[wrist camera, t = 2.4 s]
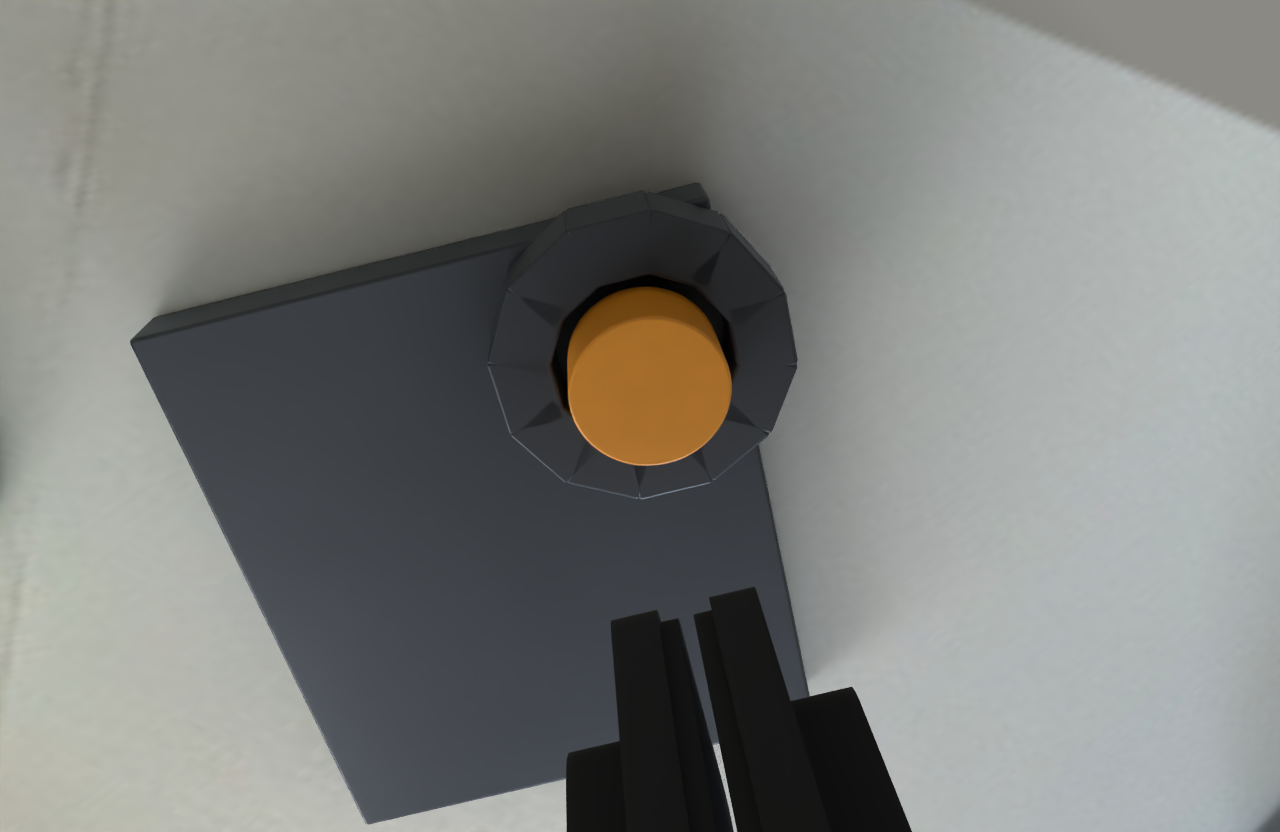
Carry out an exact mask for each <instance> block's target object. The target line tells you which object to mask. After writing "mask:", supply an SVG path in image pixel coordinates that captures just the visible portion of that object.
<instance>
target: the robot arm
mask: <svg viewBox="0 0 1280 832" xmlns="http://www.w3.org/2000/svg"><path fill="white" fill-rule="evenodd" d="M709 601H710V605H711V610H709V611H705V612H701V613H697V614H693V616H694V621H695V626H696V631H697V636H698V641H699V645H700V650H701V655H702V660H703V665H704V670H705V675H706V680H707V685H708V690H709V695H710V699H711V704H712V709H713V714H714V719H715V724H716V729H717V734H718V739H719V744H720V749H721V753H722V758H723V763H724V768H725V773H726V778H727V783H728V788H729V793H730V798H731V803H732V808H733V812H734V817H735V822H736V827H737V832H912V831H911V828H910V826H909V823H908V821H907V818H906V816H905V813H904V811H903V808H902V806H901V803H900V801H899V798H898V796H897V793H896V791H895V788H894V786H893V783H892V781H891V778H890V776H889V773H888V771H887V768H886V766H885V763H884V761H883V758H882V756H881V753H880V751H879V748H878V746H877V743H876V741H875V738H874V736H873V733H872V731H871V728H870V726H869V723H868V721H867V718H866V716H865V713H864V711H863V708H862V706H861V703H860V701H859V699H858V696H857V694H856V692H855V690H854V689H853V688H852V687H849V688H844V689H840V690H836V691H832V692H827V693H823V694H819V695H814V696H810V697H806V698H801V699H797V700H793V701H790V698H789V694H788V691H787V688H786V685H785V681H784V678H783V675H782V672H781V668H780V665H779V662H778V659H777V655H776V652H775V649H774V646H773V643H772V639H771V636H770V633H769V630H768V626H767V623H766V620H765V617H764V613H763V610H762V607H761V604H760V600H759V597H758V594H757V591H756V588H755V586H754V587H750V588H746V589H742V590H738V591H733V592H729V593H725V594H721V595H716V596H712V597H709ZM611 638H612V650H613V663H614V676H615V688H616V701H617V714H618V726H619V739H620V741H617V742H613V743H608V744H604V745H600V746H596V747H591V748H587V749H583V750H578V751H574V752H570V753H568V756H567V762H566V808H567V832H734V831H733V826H732V821H731V816H730V812H729V807H728V803H727V799H726V794H725V790H724V787H723V783H722V779H721V775H720V771H719V768H718V764H717V760H716V756H715V752H714V749H713V745H712V741H711V737H710V734H709V730H708V726H707V722H706V718H705V715H704V711H703V707H702V703H701V700H700V696H699V692H698V688H697V684H696V681H695V677H694V673H693V669H692V666H691V662H690V658H689V654H688V650H687V647H686V643H685V639H684V635H683V632H682V628H681V624H680V621H679V618H676V619H671V620H667V621H663V622H661V618H660V615H659V612H658V610H653V611H649V612H645V613H640V614H636V615H632V616H628V617H624V618H619V619H615V620H611Z"/></svg>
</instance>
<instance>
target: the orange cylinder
mask: <svg viewBox="0 0 1280 832" xmlns="http://www.w3.org/2000/svg"><path fill="white" fill-rule="evenodd" d="M567 372H568V400H569V406H570V411H571V414H572V417H573V420H574V422H575V424H576V426H577V428H578V429H579V431H580V432H581V434H582V435H583V436H584V438H585V439H586V440H587V441H588V442H589V443H590V444H591V445H592V446H593V447H595V448H596V449H597V450H599V451H600V452H602V453H603V454H605V455H607V456H608V457H611V458H613V459H615V460H618V461H621V462H624V463H628V464H633V465H643V466H651V465H661V464H667V463H670V462H674V461H677V460H680V459H682V458H684V457H687V456H688V455H690V454H692V453H694V452H695V451H697V450H698V449H699V448H701V447H702V446H703V445H705V444H706V443H707V442H708V441H709V440H710V439H711V438H712V437H713V435H714V434H715V433H716V432H717V430H718V429H719V427H720V426H721V424H722V423H723V421H724V419H725V416H726V414H727V412H728V408H729V405H730V401H731V394H732V381H731V374H730V370H729V367H728V364H727V361H726V359H725V356H724V353H723V351H722V348H721V346H720V343H719V341H718V338H717V336H716V333H715V331H714V329H713V326H712V324H711V323H710V321H709V319H708V318H707V316H706V315H705V314H704V313H703V311H702V310H701V309H700V308H699V307H698V306H697V305H695V304H694V303H693V302H692V301H690V300H689V299H687V298H686V297H684V296H682V295H680V294H678V293H676V292H673V291H670V290H667V289H663V288H658V287H647V286H646V287H634V288H628V289H624V290H621V291H618V292H615V293H613V294H611V295H608V296H606V297H605V298H603V299H602V300H600V301H598V302H597V303H596V304H595V305H593V306H592V307H591V308H590V309H589V310H588V311H587V312H586V313H585V314H584V315H583V317H582V318H581V319H580V321H579V322H578V324H577V325H576V327H575V329H574V331H573V334H572V336H571V339H570V342H569V347H568V355H567Z"/></svg>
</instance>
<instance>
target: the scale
mask: <svg viewBox="0 0 1280 832" xmlns="http://www.w3.org/2000/svg"><path fill="white" fill-rule="evenodd" d="M646 286H647V287H658V288H663V289H667V290H670V291H673V292H676V293H678V294H680V295H682V296H684V297H686V298H687V299H689V300H690V301H692V302H693V303H694V304H695V305H697V306H698V307H699V308H700V309H701V310H702V311H703V313H704V314H705V315H706V316H707V318H708V319H709V321H710V323H711V324H712V326H713V329H714V331H715V333H716V336H717V338H718V341H719V343H720V346H721V348H722V351H723V353H724V356H725V359H726V361H727V364H728V367H729V370H730V374H731V381H732V394H731V401H730V405H729V408H728V412H727V414H726V416H725V419H724V421H723V423H722V424H721V426H720V427H719V429H718V430H717V432H716V433H715V434H714V435H713V437H712V438H711V439H710V440H709V441H708V442H707V443H706V444H705V445H703V446H702V447H701V448H699V449H698V450H697V451H695V452H694V453H692V454H690V455H688V456H687V457H684V458H682V459H680V460H677V461H674V462H670V463H667V464H661V465H651V466H643V465H633V464H628V463H624V462H621V461H618V460H615V459H613V458H611V457H608V456H607V455H605V454H603V453H602V452H600V451H599V450H597V449H596V448H595V447H593V446H592V445H591V444H590V443H589V442H588V441H587V440H586V439H585V438H584V436H583V435H582V434H581V432H580V431H579V429H578V428H577V426H576V424H575V422H574V420H573V417H572V414H571V411H570V406H569V400H568V372H567V355H568V347H569V342H570V339H571V336H572V334H573V331H574V329H575V327H576V325H577V324H578V322H579V321H580V319H581V318H582V317H583V315H584V314H585V313H586V312H587V311H588V310H589V309H590V308H591V307H592V306H593V305H595V304H596V303H597V302H598V301H600V300H602V299H603V298H605V297H606V296H608V295H611V294H613V293H615V292H618V291H621V290H624V289H628V288H634V287H646ZM130 343H131V346H132V348H133V350H134V352H135V354H136V356H137V358H138V360H139V362H140V364H141V366H142V368H143V370H144V373H145V375H146V377H147V379H148V381H149V383H150V385H151V387H152V389H153V391H154V393H155V395H156V397H157V399H158V401H159V403H160V405H161V407H162V409H163V411H164V413H165V415H166V417H167V419H168V421H169V424H170V426H171V428H172V430H173V432H174V434H175V436H176V438H177V440H178V442H179V444H180V446H181V448H182V450H183V452H184V454H185V456H186V458H187V460H188V462H189V464H190V466H191V468H192V470H193V472H194V474H195V477H196V479H197V481H198V483H199V485H200V487H201V489H202V491H203V493H204V495H205V497H206V499H207V501H208V503H209V505H210V507H211V509H212V511H213V513H214V515H215V517H216V519H217V521H218V523H219V525H220V528H221V530H222V532H223V534H224V536H225V538H226V540H227V542H228V544H229V546H230V548H231V550H232V552H233V554H234V556H235V558H236V560H237V562H238V564H239V566H240V568H241V570H242V572H243V574H244V576H245V578H246V581H247V583H248V585H249V587H250V589H251V591H252V593H253V595H254V597H255V599H256V601H257V603H258V605H259V607H260V609H261V611H262V613H263V615H264V617H265V619H266V621H267V623H268V625H269V627H270V629H271V632H272V634H273V636H274V638H275V640H276V642H277V644H278V646H279V648H280V650H281V652H282V654H283V656H284V658H285V660H286V662H287V664H288V666H289V668H290V670H291V672H292V674H293V676H294V678H295V680H296V683H297V685H298V687H299V689H300V691H301V693H302V695H303V697H304V699H305V701H306V703H307V705H308V707H309V709H310V711H311V713H312V715H313V717H314V719H315V721H316V723H317V725H318V727H319V729H320V731H321V733H322V736H323V738H324V740H325V742H326V744H327V746H328V748H329V750H330V752H331V754H332V756H333V758H334V760H335V762H336V764H337V766H338V768H339V770H340V772H341V774H342V776H343V778H344V780H345V782H346V784H347V787H348V789H349V791H350V793H351V795H352V797H353V799H354V801H355V803H356V805H357V807H358V809H359V811H360V813H361V815H362V817H363V819H364V821H365V823H366V824H372V823H377V822H381V821H385V820H390V819H394V818H398V817H403V816H407V815H411V814H416V813H420V812H424V811H429V810H433V809H437V808H442V807H446V806H450V805H455V804H459V803H464V802H468V801H472V800H477V799H481V798H485V797H490V796H494V795H498V794H503V793H507V792H511V791H516V790H520V789H524V788H529V787H533V786H537V785H542V784H546V783H550V782H555V781H559V780H563V779H566V762H567V756H568V753H570V752H574V751H578V750H583V749H587V748H591V747H596V746H600V745H604V744H608V743H613V742H617V741H620V739H619V726H618V714H617V701H616V688H615V676H614V663H613V650H612V638H611V620H615V619H619V618H624V617H628V616H632V615H636V614H640V613H645V612H649V611H653V610H658V612H659V615H660V618H661V622H663V621H667V620H671V619H676V618H679V621H680V624H681V628H682V632H683V635H684V639H685V643H686V647H687V650H688V654H689V658H690V662H691V666H692V669H693V673H694V677H695V681H696V684H697V688H698V692H699V696H700V700H701V703H702V707H703V711H704V715H705V718H706V722H707V726H708V730H709V734H710V737H711V741H712V745H715V744H719V739H718V734H717V729H716V724H715V719H714V714H713V709H712V704H711V699H710V695H709V690H708V685H707V680H706V675H705V670H704V665H703V660H702V655H701V650H700V645H699V641H698V636H697V631H696V626H695V621H694V616H693V614H697V613H701V612H705V611H709V610H711V605H710V601H709V597H712V596H716V595H721V594H725V593H729V592H733V591H738V590H742V589H746V588H750V587H754V586H755V588H756V591H757V594H758V597H759V600H760V604H761V607H762V610H763V613H764V617H765V620H766V623H767V626H768V630H769V633H770V636H771V639H772V643H773V646H774V649H775V652H776V655H777V659H778V662H779V665H780V668H781V672H782V675H783V678H784V681H785V685H786V688H787V691H788V694H789V698H790V701H793V700H797V699H801V698H806V697H810V695H809V691H808V686H807V681H806V676H805V671H804V666H803V661H802V656H801V651H800V646H799V641H798V636H797V631H796V626H795V622H794V617H793V612H792V607H791V602H790V597H789V592H788V587H787V582H786V577H785V572H784V567H783V562H782V557H781V553H780V548H779V543H778V538H777V533H776V528H775V523H774V518H773V513H772V508H771V503H770V498H769V493H768V488H767V484H766V479H765V474H764V469H763V464H762V459H761V454H760V449H759V443H760V442H761V441H763V440H764V439H765V438H766V437H767V436H768V435H769V433H771V431H772V430H773V428H774V425H775V422H776V420H777V417H778V415H779V412H780V410H781V407H782V405H783V402H784V400H785V397H786V395H787V392H788V389H789V387H790V384H791V382H792V379H793V377H794V374H795V372H796V369H797V360H798V359H797V353H796V347H795V342H794V336H793V330H792V325H791V319H790V313H789V308H788V302H787V296H786V293H785V292H784V289H783V286H782V285H781V283H780V282H779V280H778V279H777V277H776V275H775V274H774V272H773V271H772V269H771V268H770V266H769V265H768V263H767V262H766V261H765V260H764V259H763V258H762V257H761V256H760V255H759V254H758V253H757V251H756V250H755V249H754V248H753V247H752V246H751V245H750V244H749V243H748V242H747V241H746V240H745V238H744V237H743V236H742V235H741V234H740V233H739V232H738V231H737V230H736V229H735V228H734V226H733V225H732V224H731V223H730V222H729V221H728V220H727V219H726V218H725V217H724V216H723V215H722V214H719V213H718V212H716V211H714V210H711V208H710V203H709V199H708V197H707V196H706V194H705V192H704V190H703V189H702V187H701V185H700V184H699V183H694V184H690V185H686V186H682V187H677V188H673V189H669V190H665V191H661V192H657V193H651V192H644V191H638V192H634V193H630V194H626V195H622V196H618V197H614V198H610V199H606V200H602V201H598V202H594V203H590V204H586V205H582V206H578V207H574V208H570V209H567V211H564V212H563V213H562V214H561V215H560V216H559V217H557V218H553V219H549V220H545V221H541V222H537V223H533V224H529V225H525V226H521V227H517V228H513V229H509V230H505V231H501V232H497V233H493V234H489V235H485V236H481V237H477V238H473V239H469V240H464V241H460V242H456V243H452V244H448V245H444V246H440V247H436V248H432V249H428V250H424V251H420V252H416V253H412V254H408V255H404V256H400V257H396V258H392V259H388V260H384V261H380V262H376V263H372V264H368V265H364V266H360V267H356V268H352V269H348V270H344V271H340V272H336V273H332V274H328V275H324V276H320V277H316V278H312V279H308V280H304V281H300V282H296V283H292V284H288V285H284V286H280V287H276V288H272V289H268V290H264V291H260V292H256V293H252V294H247V295H243V296H239V297H235V298H231V299H227V300H223V301H219V302H215V303H211V304H207V305H203V306H199V307H195V308H191V309H187V310H183V311H179V312H175V313H171V314H167V315H163V316H159V317H155V318H153V319H152V320H151V321H150V322H149V323H148V324H147V325H146V326H145V327H144V328H143V329H142V330H141V331H140V332H139V333H138V334H137V335H135V336H134V337H133V338H132V339H131V340H130Z"/></svg>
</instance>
